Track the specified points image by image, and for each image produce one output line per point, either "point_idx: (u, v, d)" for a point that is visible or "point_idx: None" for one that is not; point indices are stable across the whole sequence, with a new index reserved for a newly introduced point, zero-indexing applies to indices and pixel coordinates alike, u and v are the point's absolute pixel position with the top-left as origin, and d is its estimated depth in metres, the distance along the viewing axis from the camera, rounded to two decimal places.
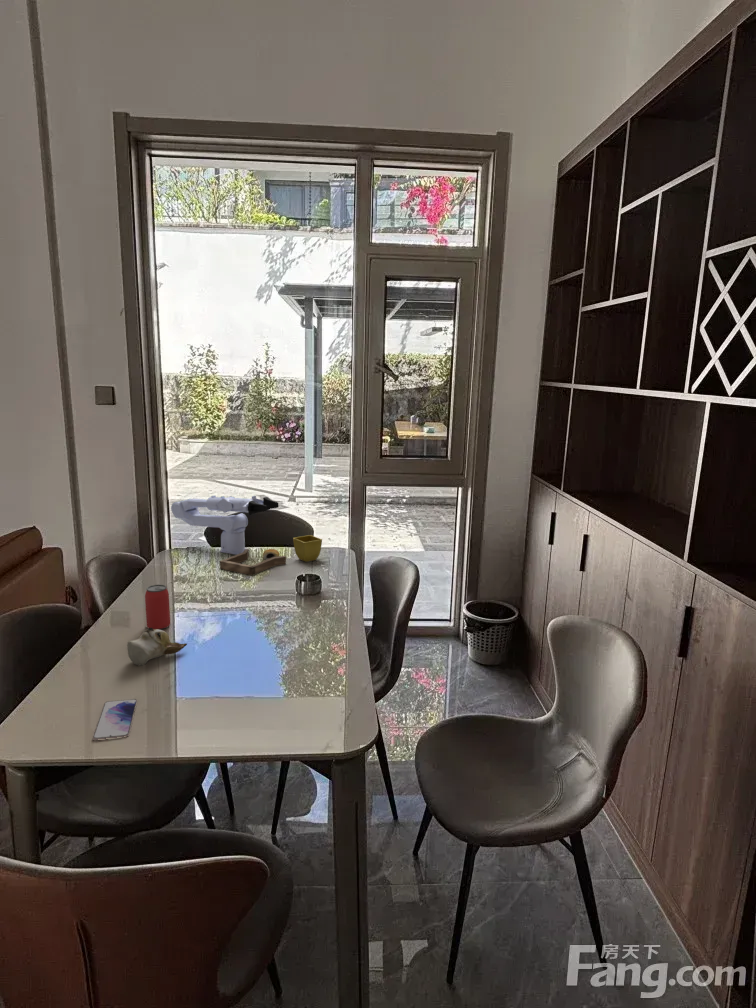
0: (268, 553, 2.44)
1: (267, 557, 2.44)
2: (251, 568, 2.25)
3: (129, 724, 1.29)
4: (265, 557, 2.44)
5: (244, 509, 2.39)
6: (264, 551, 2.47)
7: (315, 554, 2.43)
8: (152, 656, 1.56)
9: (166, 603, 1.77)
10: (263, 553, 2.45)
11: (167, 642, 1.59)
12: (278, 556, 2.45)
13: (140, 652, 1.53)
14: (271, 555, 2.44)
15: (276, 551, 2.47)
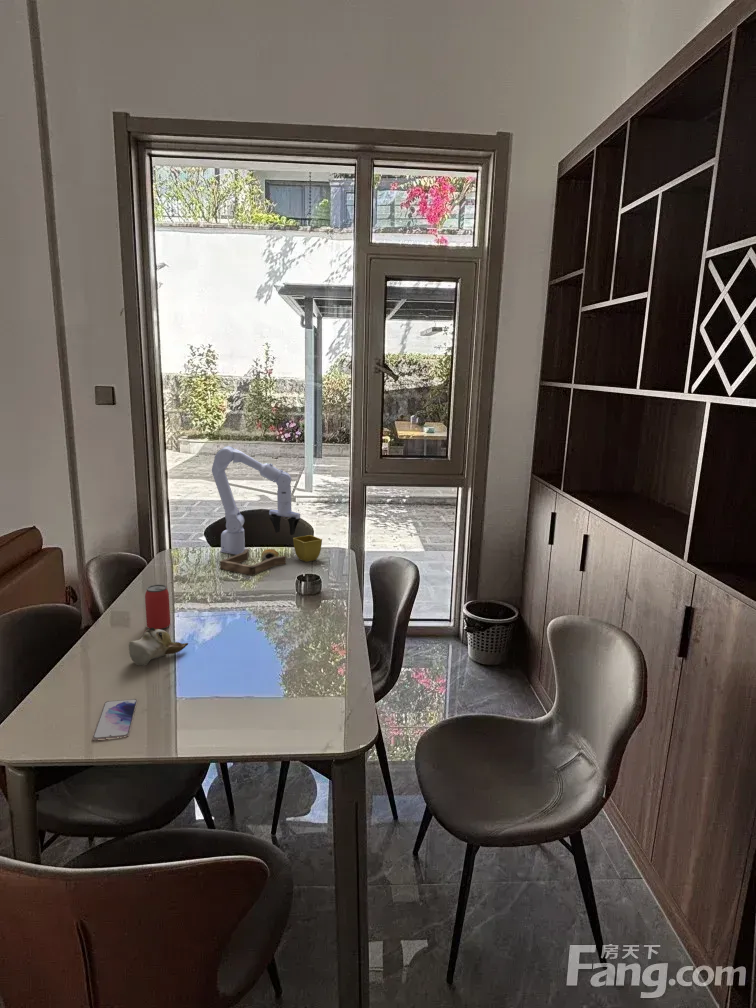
0: (267, 553, 2.44)
1: (266, 557, 2.44)
2: (251, 568, 2.25)
3: (129, 724, 1.29)
4: (264, 557, 2.44)
5: (298, 516, 2.49)
6: (263, 551, 2.47)
7: (315, 554, 2.43)
8: (154, 656, 1.56)
9: (166, 603, 1.77)
10: (262, 553, 2.45)
11: (168, 642, 1.59)
12: (277, 556, 2.45)
13: (142, 652, 1.53)
14: (270, 555, 2.44)
15: (275, 551, 2.47)
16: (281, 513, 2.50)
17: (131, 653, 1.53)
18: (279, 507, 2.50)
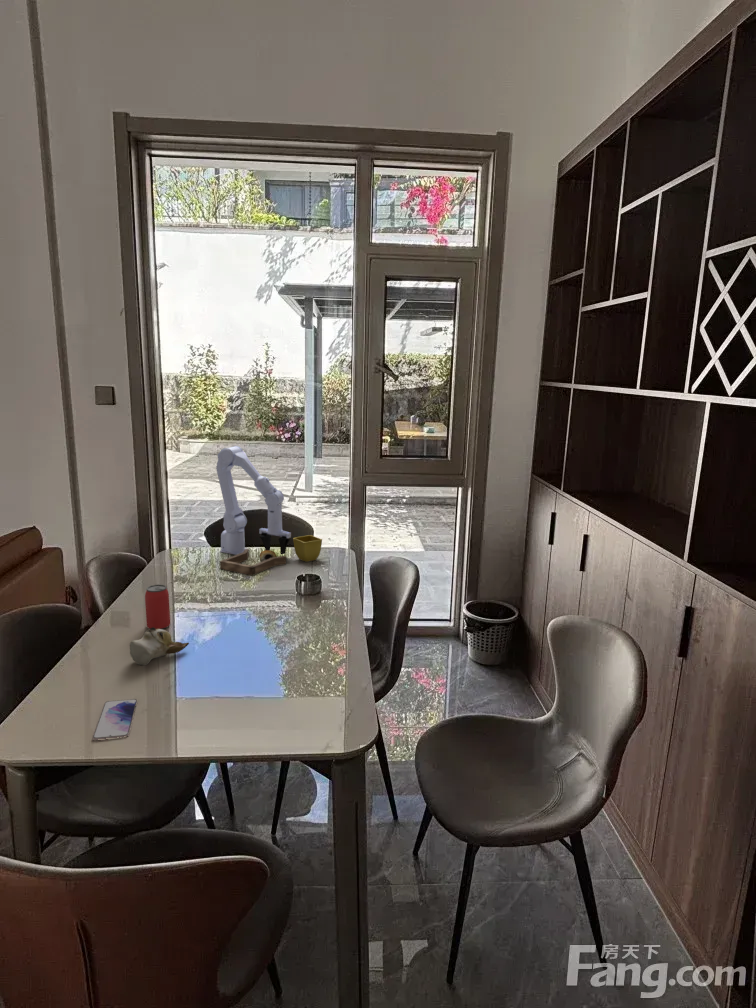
0: (266, 554, 2.42)
1: (265, 558, 2.42)
2: (251, 568, 2.25)
3: (129, 724, 1.29)
4: (263, 558, 2.42)
5: (289, 536, 2.45)
6: (261, 552, 2.45)
7: (315, 554, 2.43)
8: (155, 656, 1.56)
9: (166, 603, 1.76)
10: (260, 554, 2.43)
11: (169, 641, 1.59)
12: None
13: (143, 652, 1.53)
14: (269, 556, 2.42)
15: (273, 552, 2.45)
16: (271, 532, 2.45)
17: (132, 653, 1.53)
18: (269, 526, 2.45)
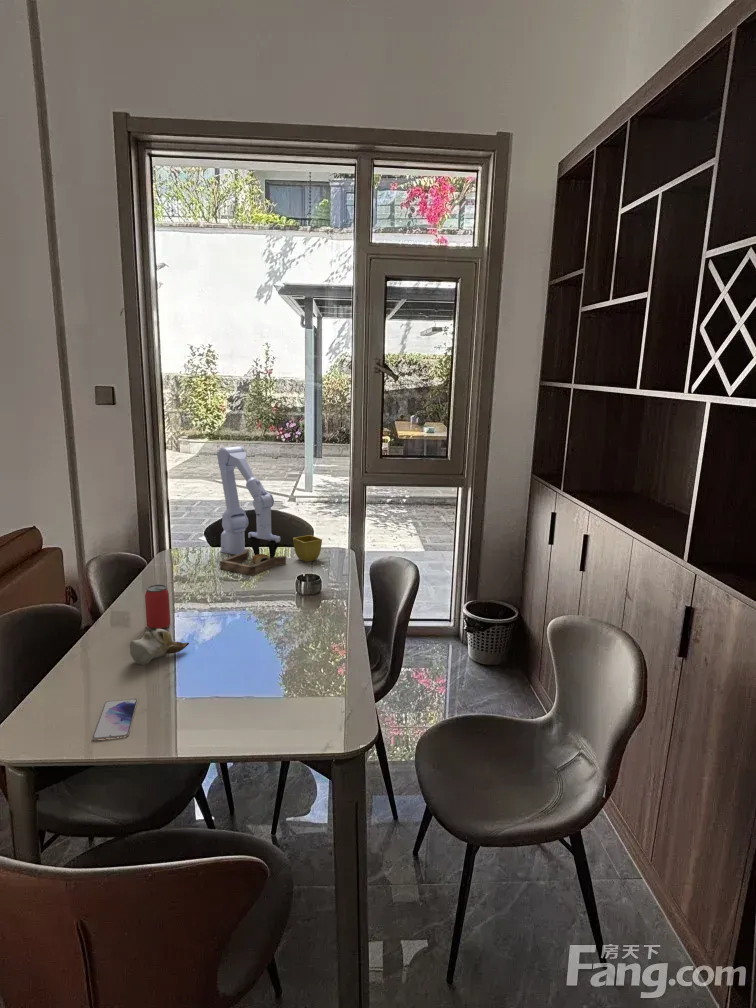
0: (262, 558, 2.36)
1: None
2: (251, 568, 2.25)
3: (129, 724, 1.29)
4: None
5: (278, 540, 2.39)
6: (254, 557, 2.38)
7: (315, 554, 2.43)
8: (155, 655, 1.56)
9: (166, 603, 1.77)
10: (255, 559, 2.37)
11: (169, 641, 1.59)
12: None
13: (143, 652, 1.53)
14: None
15: None
16: (260, 536, 2.39)
17: (132, 652, 1.54)
18: (258, 530, 2.39)
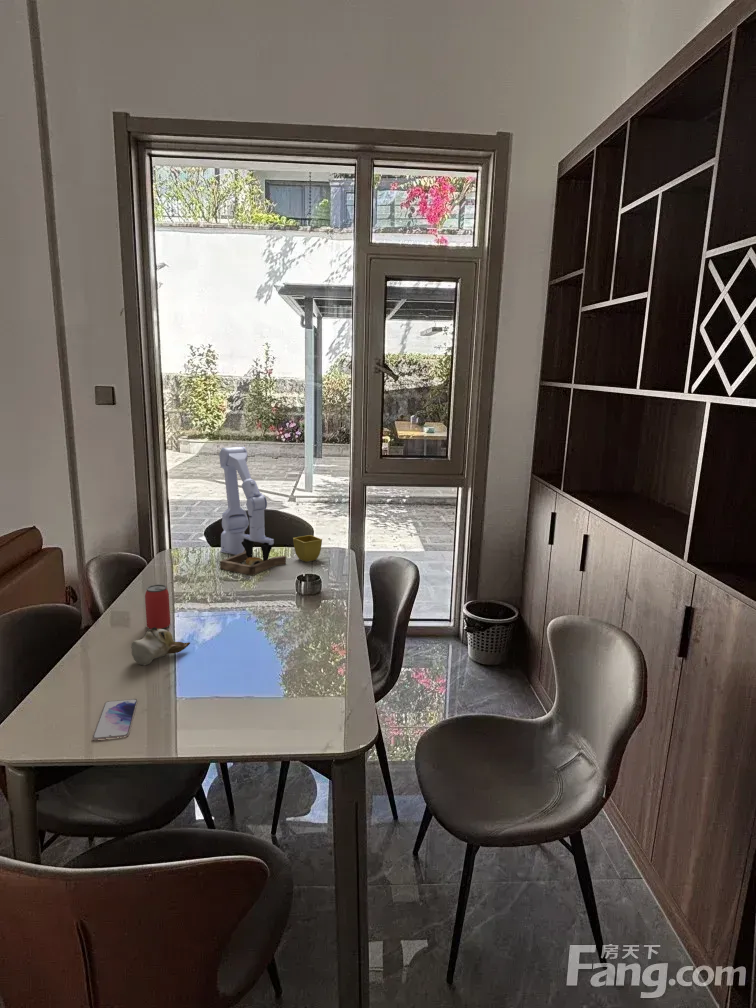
0: (255, 561, 2.33)
1: None
2: (251, 568, 2.25)
3: (129, 724, 1.28)
4: None
5: (271, 542, 2.35)
6: (247, 560, 2.35)
7: (315, 554, 2.43)
8: (156, 655, 1.56)
9: (166, 603, 1.77)
10: (248, 562, 2.33)
11: (171, 641, 1.60)
12: None
13: (145, 652, 1.53)
14: None
15: (260, 558, 2.37)
16: (253, 539, 2.35)
17: (134, 653, 1.53)
18: (251, 532, 2.35)
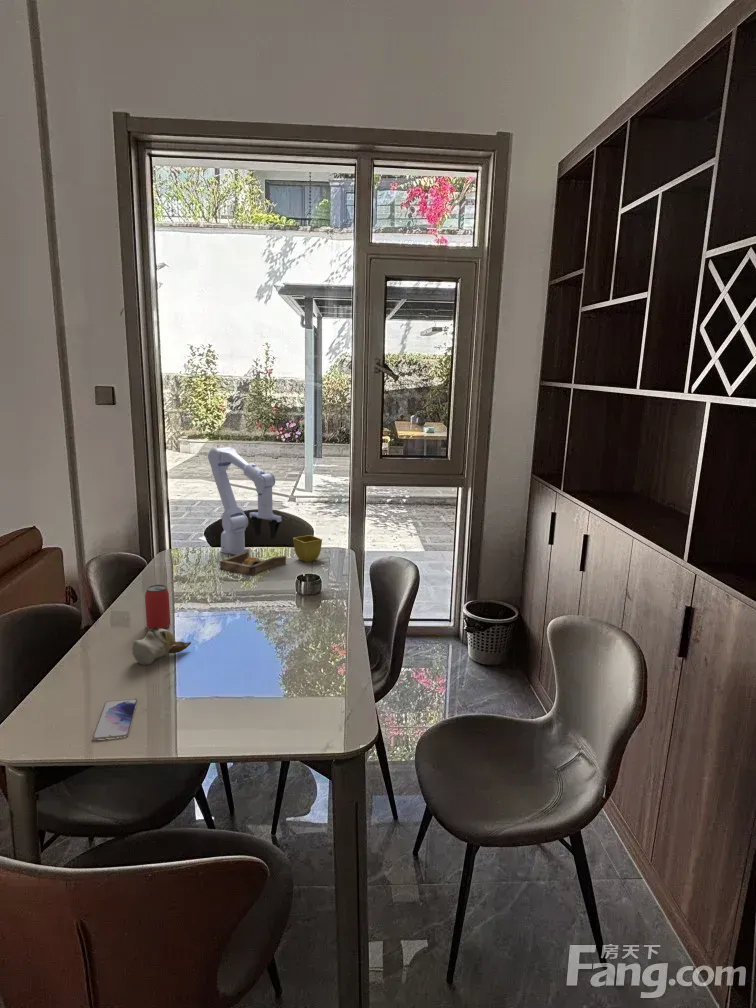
0: (254, 562, 2.32)
1: None
2: (251, 568, 2.25)
3: (129, 724, 1.28)
4: None
5: (279, 519, 2.38)
6: (246, 561, 2.34)
7: (315, 554, 2.43)
8: (157, 655, 1.57)
9: (166, 603, 1.77)
10: (247, 563, 2.32)
11: (172, 641, 1.60)
12: None
13: (146, 652, 1.53)
14: (257, 563, 2.33)
15: (258, 559, 2.36)
16: (261, 516, 2.39)
17: (135, 653, 1.53)
18: (259, 509, 2.39)
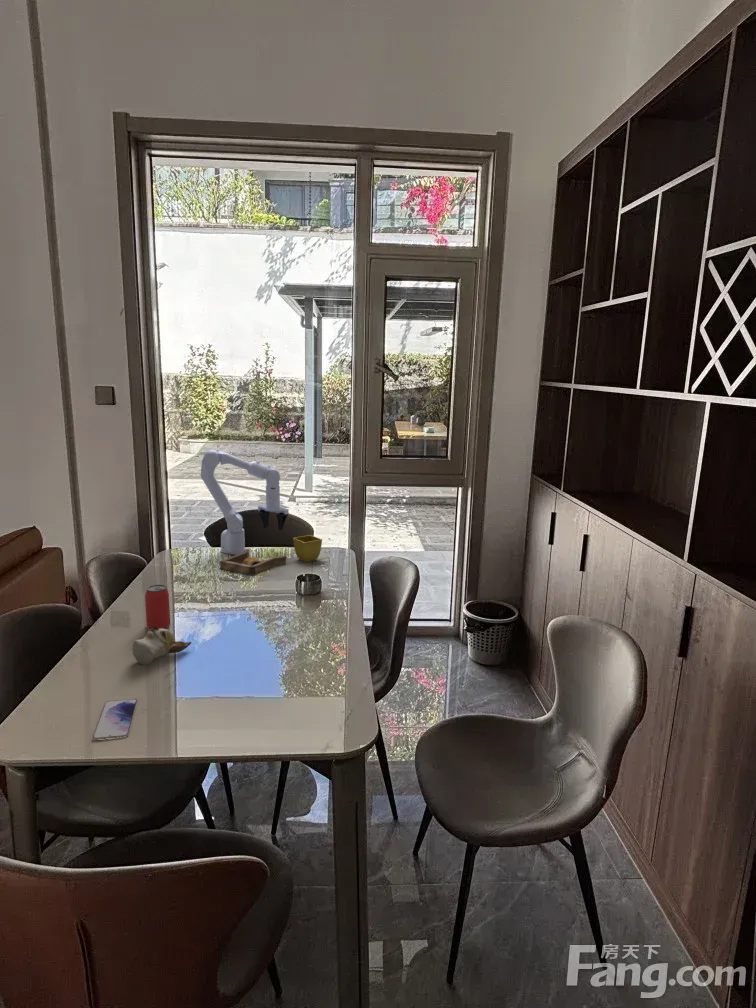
0: (253, 562, 2.32)
1: None
2: (251, 568, 2.25)
3: (129, 724, 1.28)
4: None
5: (286, 512, 2.51)
6: (245, 561, 2.34)
7: (315, 554, 2.43)
8: (157, 655, 1.57)
9: (166, 603, 1.77)
10: (247, 563, 2.32)
11: (172, 641, 1.60)
12: None
13: (146, 651, 1.54)
14: None
15: (258, 559, 2.36)
16: (269, 509, 2.52)
17: (135, 652, 1.54)
18: (267, 503, 2.52)
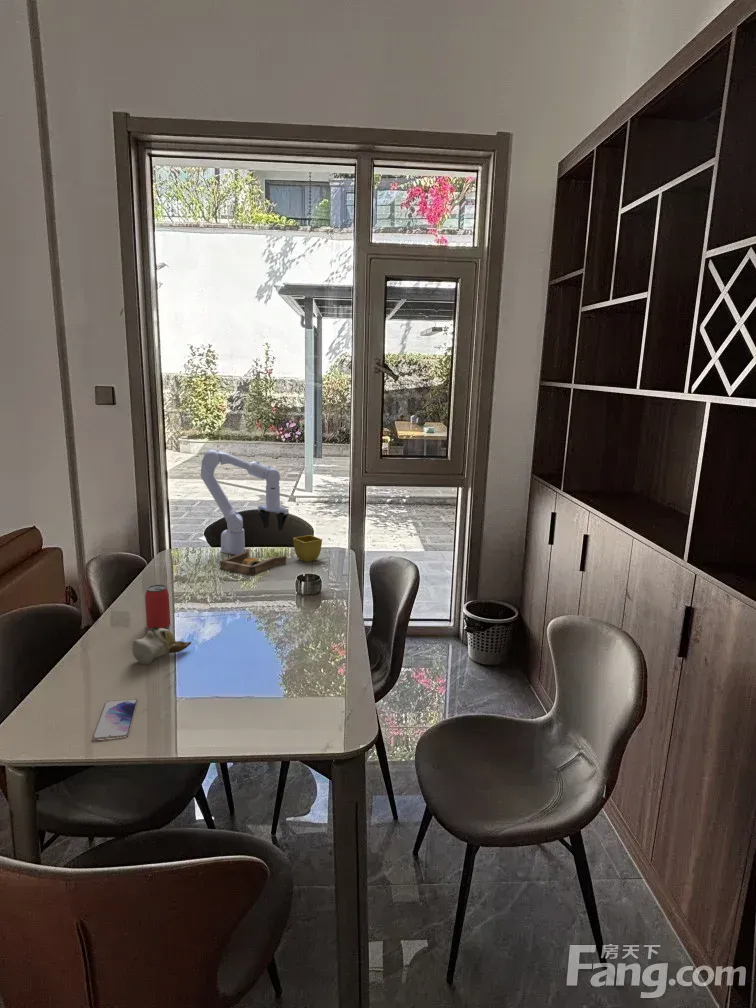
0: (253, 562, 2.32)
1: None
2: (251, 568, 2.25)
3: (129, 724, 1.28)
4: None
5: (286, 512, 2.51)
6: (245, 561, 2.34)
7: (315, 554, 2.43)
8: (157, 655, 1.57)
9: (166, 603, 1.77)
10: (246, 563, 2.32)
11: (172, 641, 1.60)
12: None
13: (146, 651, 1.54)
14: None
15: (257, 559, 2.36)
16: (269, 509, 2.52)
17: (135, 652, 1.54)
18: (267, 503, 2.52)
